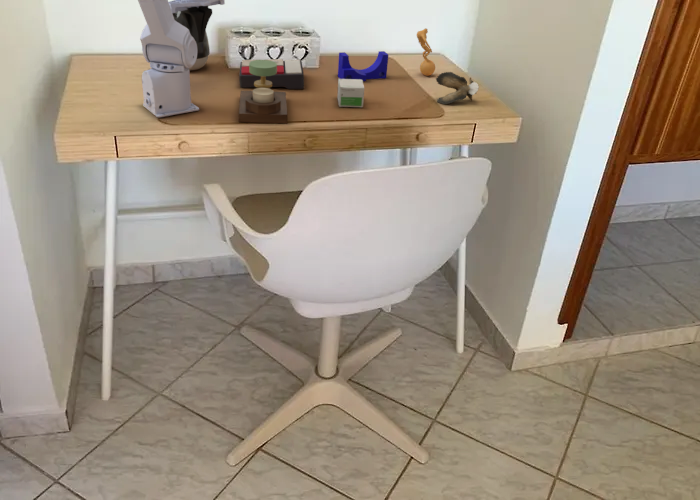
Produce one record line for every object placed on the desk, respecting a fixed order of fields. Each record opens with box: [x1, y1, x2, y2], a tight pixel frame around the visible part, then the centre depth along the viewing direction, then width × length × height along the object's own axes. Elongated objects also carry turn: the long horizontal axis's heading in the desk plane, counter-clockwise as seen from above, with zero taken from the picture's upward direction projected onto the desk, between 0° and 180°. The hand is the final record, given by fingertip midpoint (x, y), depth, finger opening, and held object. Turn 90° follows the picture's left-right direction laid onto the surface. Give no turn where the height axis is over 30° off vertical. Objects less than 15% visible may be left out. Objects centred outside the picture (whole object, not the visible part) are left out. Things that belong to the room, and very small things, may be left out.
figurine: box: [416, 28, 436, 77], centre depth 172 cm, size 8×6×12 cm
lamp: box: [249, 59, 277, 89], centre depth 147 cm, size 6×6×5 cm
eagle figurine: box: [435, 71, 480, 105], centre depth 159 cm, size 8×7×9 cm
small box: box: [336, 78, 365, 109], centre depth 153 cm, size 6×6×5 cm
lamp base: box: [238, 90, 288, 124], centre depth 145 cm, size 14×10×4 cm
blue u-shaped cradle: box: [337, 50, 389, 82], centre depth 168 cm, size 12×4×6 cm, turn 108°
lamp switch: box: [251, 87, 275, 103], centre depth 141 cm, size 4×4×2 cm
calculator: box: [238, 58, 305, 90], centre depth 162 cm, size 11×4×15 cm
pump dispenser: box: [172, 11, 211, 72], centre depth 164 cm, size 10×10×15 cm
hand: (198, 41), depth 151 cm, fingers closed
